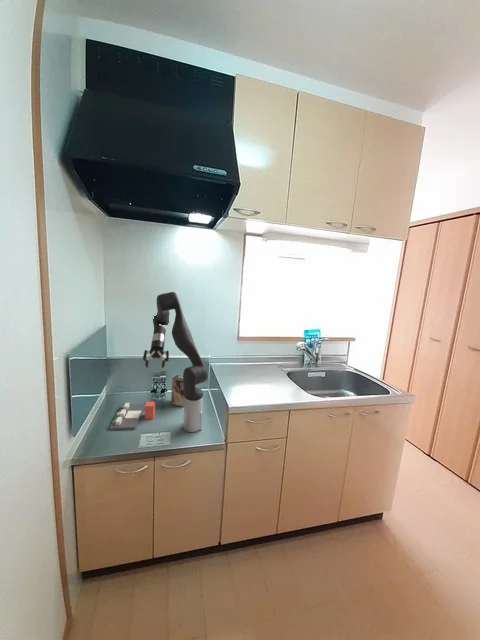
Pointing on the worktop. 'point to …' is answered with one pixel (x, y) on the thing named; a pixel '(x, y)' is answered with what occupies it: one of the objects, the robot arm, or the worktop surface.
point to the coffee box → (177, 390)
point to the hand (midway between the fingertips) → (154, 367)
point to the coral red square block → (149, 410)
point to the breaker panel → (127, 417)
